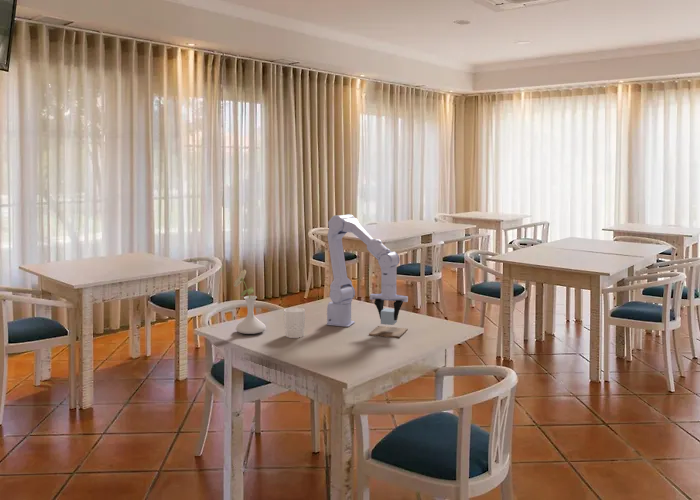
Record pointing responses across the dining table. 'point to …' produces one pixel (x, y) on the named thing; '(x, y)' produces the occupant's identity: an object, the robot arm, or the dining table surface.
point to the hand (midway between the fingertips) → (388, 319)
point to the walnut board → (388, 331)
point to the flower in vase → (250, 322)
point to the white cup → (294, 322)
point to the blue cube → (387, 316)
